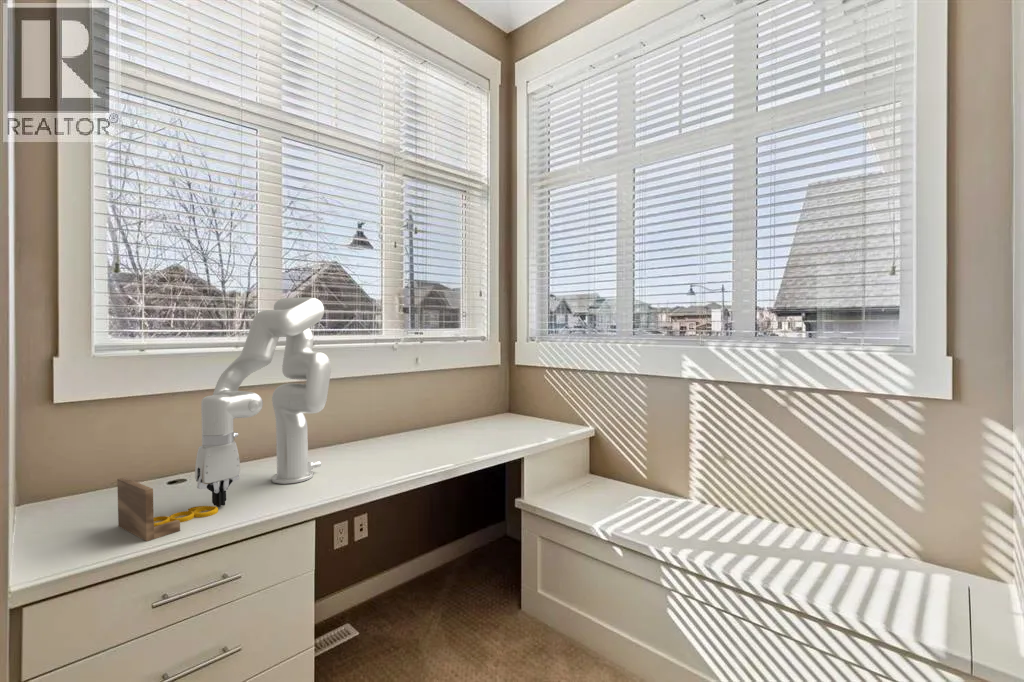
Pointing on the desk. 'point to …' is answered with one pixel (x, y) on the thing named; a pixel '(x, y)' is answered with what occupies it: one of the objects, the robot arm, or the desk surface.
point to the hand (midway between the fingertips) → (219, 505)
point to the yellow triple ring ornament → (191, 514)
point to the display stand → (140, 511)
